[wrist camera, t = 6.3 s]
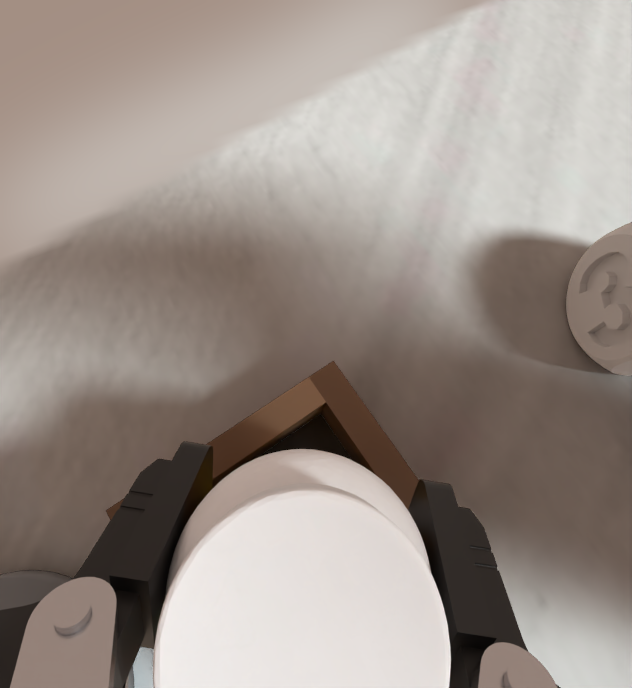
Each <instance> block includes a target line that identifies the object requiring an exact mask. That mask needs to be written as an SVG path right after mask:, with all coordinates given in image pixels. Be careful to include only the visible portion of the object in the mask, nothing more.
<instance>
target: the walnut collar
mask: <svg viewBox="0 0 632 688" xmlns="http://www.w3.org/2000/svg"><path fill="white" fill-rule="evenodd" d="M320 414H321V415H322V417H323V418H324V420H325V421H326V422H327V424H328V425H329V427H330V428H331V430H332V431H333V433H334V434H335V436H336V437H337V439H338V440H339V442H340V443H341V445H342V446H343V448H344V449H345V450H346V452H347V453H348V455H349V456H350V458H351V459H352V461H354V462H356V463H358V464H360V465H361V466H363V467H365V468H366V469H368V470H369V471H371V472H372V473H374V474H375V475H376V476H378V477H379V478H380V479H381V480H382V481H384V482H385V483H386V484H387V485H388V486H389V487H390V488H391V489H392V490H393V492H394V493H395V494H396V495H397V496H398V497H399V499H400V500H401V501H402V502H403V504H404V505H405V507H406V508H407V510H408V509H409V506H410V503H411V500H412V497H413V495H414V492H415V489H416V486H417V484H418V482H419V480H418V479H417V477H416V476H415V474H414V473H413V472H412V470H411V469H410V467H409V466H408V465H407V463H406V462H405V460H404V459H403V458H402V456H401V455H400V453H399V452H398V451H397V449H396V448H395V446H394V445H393V444H392V442H391V441H390V439H389V438H388V437H387V435H386V434H385V432H384V431H383V430H382V428H381V427H380V425H379V424H378V423H377V421H376V420H375V418H374V417H373V415H372V414H371V413H370V411H369V410H368V408H367V407H366V406H365V404H364V403H363V401H362V400H361V399H360V397H359V396H358V394H357V393H356V392H355V390H354V389H353V387H352V386H351V385H350V383H349V382H348V380H347V379H346V378H345V376H344V375H343V373H342V372H341V371H340V369H339V368H338V366H337V365H336V364H335V362H334V361H332V362H331V363H329V364H328V365H326V366H325V367H323V368H322V369H320V370H319V371H317V372H316V373H314V374H313V375H311V376H310V377H308V378H307V379H305V380H303V381H302V382H300V383H299V384H297V385H296V386H294V387H293V388H291V389H290V390H288V391H287V392H285V393H284V394H282V395H281V396H279V397H278V398H276V399H275V400H273V401H272V402H270V403H269V404H267V405H265V406H264V407H262V408H261V409H259V410H258V411H256V412H255V413H253V414H252V415H250V416H249V417H247V418H246V419H244V420H243V421H241V422H240V423H238V424H237V425H235V426H234V427H232V428H231V429H229V430H227V431H226V432H224V433H223V434H221V435H220V436H218V437H217V438H215V439H214V440H212V441H211V442H209V443H208V444H206V445H210V446H213V484H212V488H214V487H215V486H216V485H217V484H218V483H219V482H220V481H221V480H222V479H224V478H225V477H226V476H227V475H229V474H230V473H231V472H233V471H234V470H236V469H237V468H239V467H240V466H242V465H244V464H246V463H248V462H250V461H252V460H253V459H255V458H257V457H259V456H260V455H262V454H263V453H265V452H266V451H268V450H269V449H271V448H272V447H274V446H275V445H276V444H278V443H279V442H281V441H282V440H284V439H285V438H287V437H288V436H290V435H291V434H292V433H294V432H295V431H297V430H298V429H300V428H301V427H303V426H304V425H306V424H307V423H308V422H310V421H311V420H313V419H314V418H316V417H317V416H319V415H320ZM123 500H124V499H123ZM123 500H121V501H120V502H118V503H117V504H115V505H113V506H112V507H110V508H109V509H107V510H106V512H107V514H108V516H109V518H110V520H111V519H112V518H113V516H114V514H115V513H116V511H117V510H118V509H119V508H120V505H121V503H122V502H123Z"/></svg>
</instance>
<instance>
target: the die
mask: <svg viewBox="0 0 632 688" xmlns="http://www.w3.org/2000/svg"><path fill="white" fill-rule="evenodd" d="M566 311H567V318H568V323H569V326H570V329H571V332H572V334H573V336H574V338H575V339H576V341H577V342H578V344H579V345H580V346H581V348H582V349H583V350H584V351H585V352H586V353H587V355H588V356H590V357H591V358H592V359H593V360H594V361H595V362H597V363H598V364H599V365H601V366H602V367H604V368H605V369H607V370H609V371H610V372H612V373H614V374H618V375H628V376H632V222H631V223H628V224H626V225H624V226H622V227H620V228H617V229H616V230H614V231H612V232H610V233H608V234H606V235H605V236H603V237H602V238H600V239H599V240H597V241H596V242H595V243H594V244H593V245H591V246H590V247H589V249H588V250H587V251H586V252H585V253H584V254H583V256H582V257H581V258H580V260H579V261H578V263H577V265H576V267H575V269H574V271H573V273H572V276H571V278H570V281H569V285H568V290H567V298H566Z"/></svg>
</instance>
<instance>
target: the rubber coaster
mask: <svg viewBox="0 0 632 688" xmlns="http://www.w3.org/2000/svg"><path fill="white" fill-rule="evenodd" d="M71 580H72V578H70V577H68V576H64V575H61V574H57V573H54V572H47V571H39V570H31V571H17V572H11V573H5V574H2V575H0V610H4V609H9V608H15V607H20V606H25V605H29V604H33V603H36V602H38V601H41V600H42V599H43V598H44V597H45V596H46V595H48V594H49V593H50V592H51V591H52V590H54V589H55V588H57V587H58V586H60V585H62V584H64V583H66V582H68V581H71ZM128 676H129V680H128V688H134V674H133V666H132V668H131V670H130V673H129V675H128Z"/></svg>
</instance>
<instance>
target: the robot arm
mask: <svg viewBox="0 0 632 688" xmlns="http://www.w3.org/2000/svg"><path fill="white" fill-rule="evenodd" d="M212 484H213V446H210V445H204V444H198V443H191V442H185V441H184V442H183V443H182V444H181V445H180V447H179V449H178V451H177V452H176V454H175V456H174V458H173V460H172V461H170V460H163V459H157V460H156V461H155V462H153V463H152V464H151V465H150V466H148V467H147V468H146V469H145V470H143V471H142V472H141V473H140V475H139V476H138V478H137V479H136V481H135V483H134V484H133V486H132V487H131V489H130V491H129V494H127V495H126V497H125V498H124V500H123V502H122V503H121V505H120V508H119V509H118V510H117V511H116V513H115V514H114V516H113V518H112V519H111V521H110V522H109V524H108V526H107V527H106V529H105V530H104V532H103V534H102V535H101V537H100V538H99V540H98V542H97V543H96V545H95V546H94V548H93V550H92V551H91V553H90V554H89V556H88V558H87V559H86V561H85V562H84V564H83V566H82V567H81V569H80V570H79V571H78V573H77V574H76V575H75V576H74V578H73V579H72V580H71V581H68V582H66V583H64V584H62V585H60V586H58V587H57V588H55V589H54V590H52V591H51V592H50V593H49V594H48V595H46V596H45V597H44V598H43V599H42V600H41V601H38V602H36V603H33V604H29V605H25V606H20V607H15V608H9V609H4V610H0V688H128V680H129V676H128V675H129V673H130V670H131V668H132V665H133V663H134V660H135V658H136V656H137V653H138V651H139V648H140V647H146V648H152V649H154V646H155V640H156V633H157V627H158V622H159V618H160V614H161V611H162V607H163V603H164V601H165V595H166V586H167V579H168V574H169V569H170V565H171V561H172V558H173V554H174V551H175V548H176V545H177V543H178V540H179V538H180V536H181V534H182V531H183V529H184V527H185V525H186V524H187V522H188V520H189V518H190V517H191V515H192V514H193V512H194V511H195V509H196V508H197V506H198V505H199V504H200V503H201V501H202V500H203V499H204V498H205V497H206V495H207V494H208V493H209V492H210V491H211V490H212ZM408 511H409V513H410V515H411V516H412V518H413V520H414V522H415V523H416V526H417V528H418V530H419V532H420V534H421V537H422V540H423V542H424V545H425V548H426V552H427V555H428V559H429V563H430V568H431V573H432V576H433V578H434V581H435V583H436V586H437V589H438V591H439V594H440V597H441V600H442V604H443V607H444V611H445V615H446V620H447V624H448V632H449V641H450V652H451V668H450V682H449V688H560V687H559V686H557V685H556V684H555V682H554V680H553V678H552V677H551V675H550V674H549V672H548V671H547V670H546V668H545V667H544V666H543V665H542V664H541V663H540V662H539V661H538V660H537V659H536V658H535V657H534V656H533V655H531V654H530V653H529V652H528V650H527V648H526V646H525V644H524V641H523V639H522V636H521V633H520V630H519V627H518V624H517V622H516V619H515V616H514V613H513V610H512V607H511V604H510V601H509V599H508V596H507V593H506V590H505V587H504V584H503V581H502V578H501V576H500V573H499V571H497V564H496V561H495V558H494V555H493V553H491V547H490V544H489V541H488V538H487V535H486V532H485V530H484V527H483V526H482V525H481V523H480V522H479V521H478V519H477V518H476V517H475V515H474V514H473V513H472V511H471V510H470V509H468V508H462V507H458V505H457V502H456V498H455V495H454V492H453V489H452V487H451V485H450V484H446V483H440V482H434V481H427V480H419V482H418V484H417V486H416V489H415V492H414V495H413V497H412V500H411V503H410V506H409V509H408Z"/></svg>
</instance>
